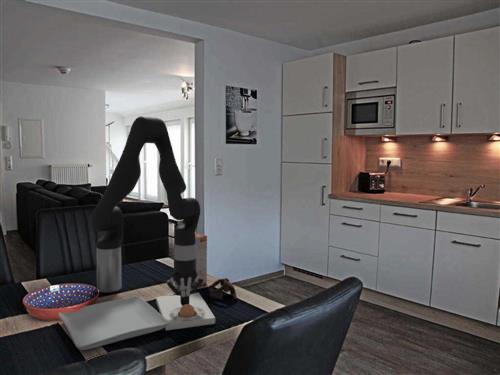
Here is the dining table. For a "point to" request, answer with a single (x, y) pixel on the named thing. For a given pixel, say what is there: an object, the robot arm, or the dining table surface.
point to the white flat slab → (171, 312)
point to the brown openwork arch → (222, 288)
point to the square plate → (112, 322)
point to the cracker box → (201, 257)
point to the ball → (187, 311)
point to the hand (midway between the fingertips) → (184, 305)
